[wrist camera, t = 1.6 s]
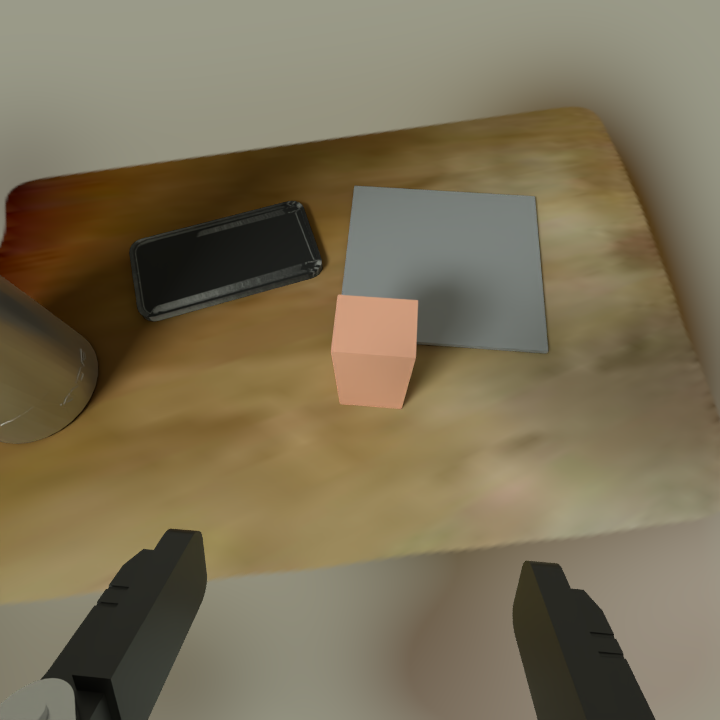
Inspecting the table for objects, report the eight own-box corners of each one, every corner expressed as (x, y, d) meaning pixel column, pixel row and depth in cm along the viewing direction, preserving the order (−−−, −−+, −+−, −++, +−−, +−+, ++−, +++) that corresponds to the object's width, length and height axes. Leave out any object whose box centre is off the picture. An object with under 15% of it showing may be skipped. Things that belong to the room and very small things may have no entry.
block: (339, 403, 32) (330, 351, 23) (344, 359, 34) (337, 294, 25) (401, 408, 32) (415, 357, 23) (403, 364, 33) (418, 300, 25)
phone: (325, 269, 36) (139, 320, 34) (326, 276, 37) (145, 326, 35) (300, 197, 39) (127, 241, 37) (301, 206, 40) (133, 249, 38)
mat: (337, 338, 34) (336, 336, 34) (354, 189, 40) (354, 185, 40) (546, 353, 34) (548, 351, 33) (533, 199, 39) (534, 196, 39)
